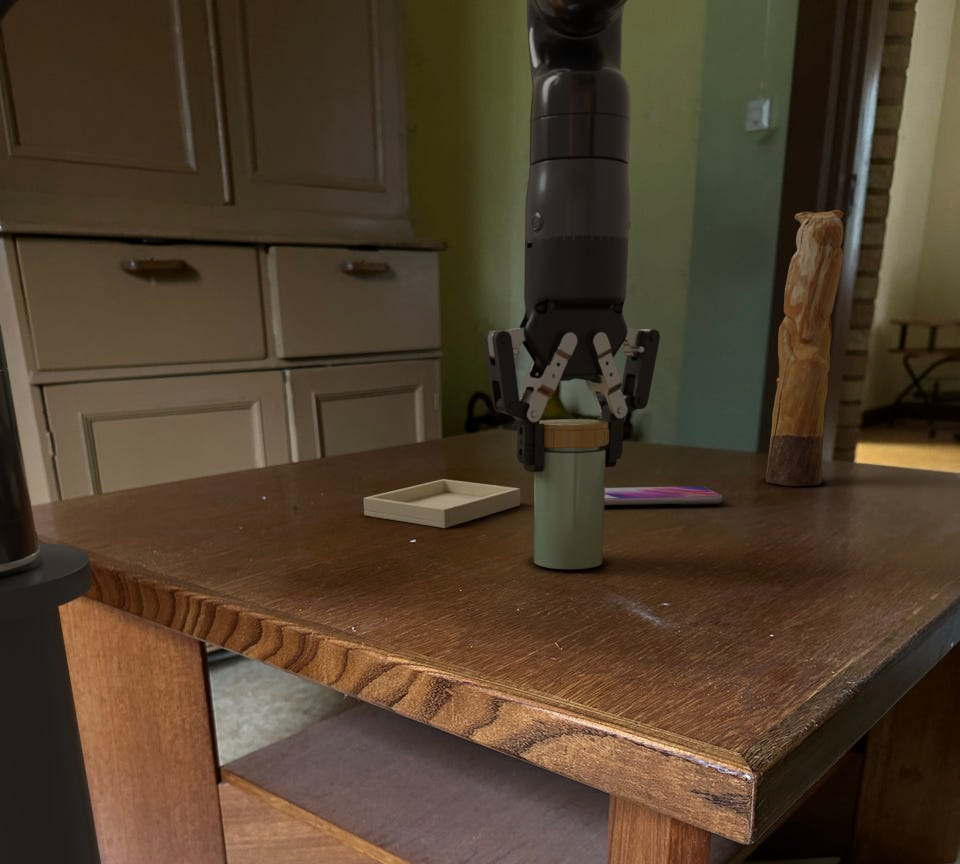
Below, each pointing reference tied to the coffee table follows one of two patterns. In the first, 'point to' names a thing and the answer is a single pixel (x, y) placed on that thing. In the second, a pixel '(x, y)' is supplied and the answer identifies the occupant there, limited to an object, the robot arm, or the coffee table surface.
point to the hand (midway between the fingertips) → (569, 467)
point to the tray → (442, 502)
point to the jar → (570, 508)
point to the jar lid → (575, 433)
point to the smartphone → (661, 496)
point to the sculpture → (805, 352)
